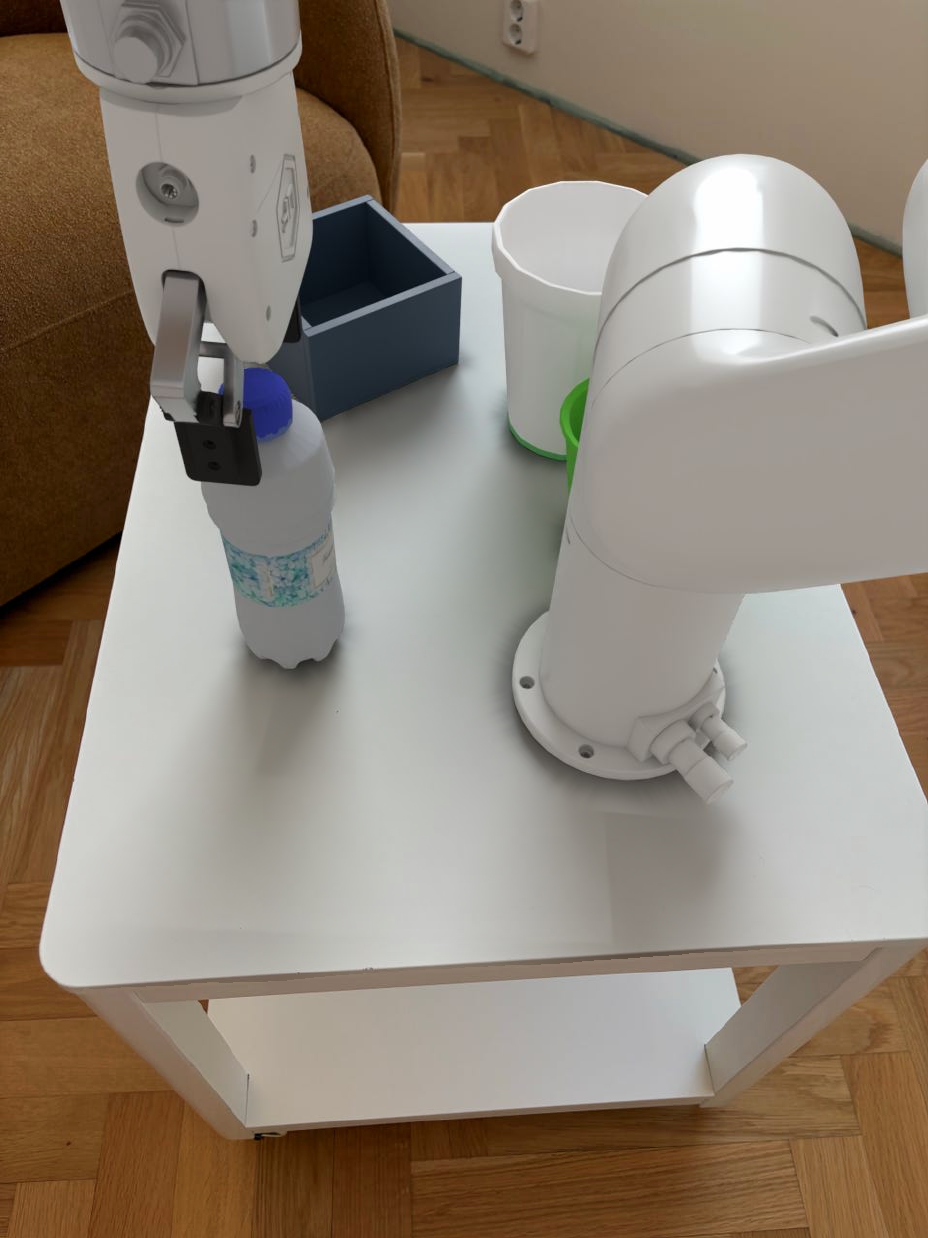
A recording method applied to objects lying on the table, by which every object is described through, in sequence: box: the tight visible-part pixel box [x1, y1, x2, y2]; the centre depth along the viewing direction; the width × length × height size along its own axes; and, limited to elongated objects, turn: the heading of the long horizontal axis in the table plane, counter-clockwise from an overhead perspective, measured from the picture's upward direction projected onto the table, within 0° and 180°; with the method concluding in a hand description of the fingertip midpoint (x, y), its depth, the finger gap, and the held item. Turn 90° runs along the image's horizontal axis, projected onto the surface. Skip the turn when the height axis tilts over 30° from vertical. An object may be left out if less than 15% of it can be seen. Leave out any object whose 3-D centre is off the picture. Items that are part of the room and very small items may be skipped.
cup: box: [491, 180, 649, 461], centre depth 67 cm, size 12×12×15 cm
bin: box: [265, 194, 463, 423], centre depth 75 cm, size 13×13×8 cm
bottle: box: [200, 366, 346, 670], centre depth 53 cm, size 7×7×20 cm
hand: (249, 403), depth 46 cm, fingers open, 9 cm apart
